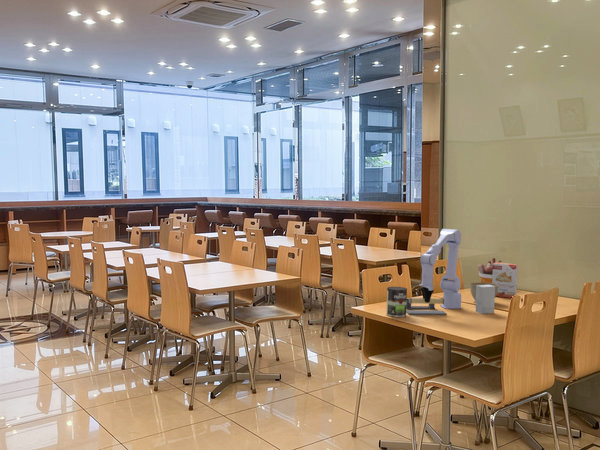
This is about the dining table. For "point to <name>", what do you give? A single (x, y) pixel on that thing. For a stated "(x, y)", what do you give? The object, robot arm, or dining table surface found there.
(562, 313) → the dining table surface
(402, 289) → the coffee can
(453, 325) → the dining table surface
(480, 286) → the skincare box
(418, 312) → the mat
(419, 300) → the rail
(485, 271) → the bucket of meat
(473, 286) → the planter bowl
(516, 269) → the cracker box
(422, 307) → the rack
